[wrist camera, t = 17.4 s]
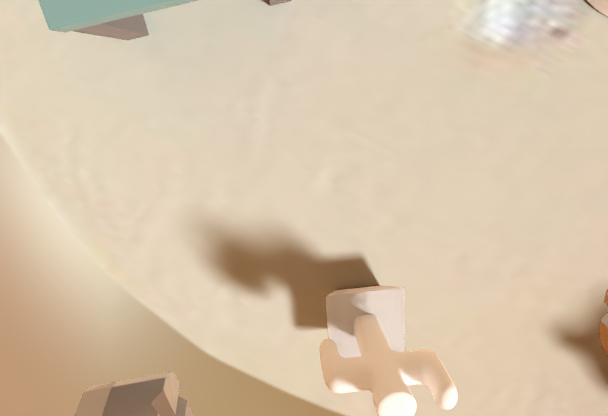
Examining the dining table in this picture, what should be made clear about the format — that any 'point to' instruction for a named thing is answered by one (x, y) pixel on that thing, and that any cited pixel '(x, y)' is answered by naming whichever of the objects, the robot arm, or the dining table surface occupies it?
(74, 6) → the keyhole shelf
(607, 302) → the robot arm
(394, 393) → the figurine
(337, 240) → the dining table surface
